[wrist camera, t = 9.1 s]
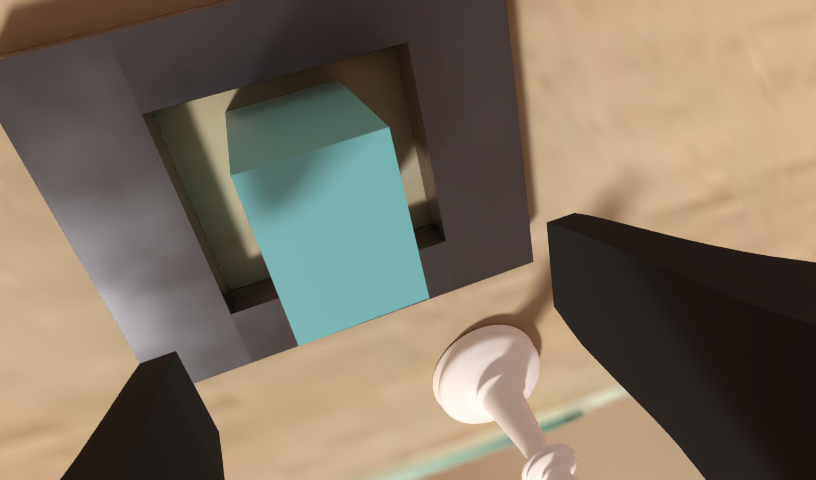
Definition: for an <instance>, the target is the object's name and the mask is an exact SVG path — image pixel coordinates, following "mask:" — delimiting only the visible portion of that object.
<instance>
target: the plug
mask: <svg viewBox="0 0 816 480" xmlns="http://www.w3.org/2000/svg"><path fill="white" fill-rule="evenodd" d="M225 115H226V127H227V138H228V150H229V162H230V174H231V178H232V181H233V183H234V186H235V188H236V191H237V193H238V196H239V198H240V201H241V203H242V206H243V208H244V211H245V213H246V216H247V218H248V221H249V223H250V226H251V228H252V231H253V233H254V236H255V238H256V241H257V243H258V246H259V248H260V251H261V253H262V256H263V258H264V261H265V263H266V266H267V268H268V271H269V273H270V276H271V278H272V281H273V283H274V286H275V288H276V291H277V293H278V296H279V298H280V301H281V303H282V306H283V308H284V311H285V313H286V316H287V318H288V321H289V323H290V326H291V328H292V331H293V333H294V336H295V338H296V341H297V343H298V346H300V345H303V344H305V343H308V342H311V341H314V340H316V339H319V338H322V337H325V336H327V335H330V334H333V333H335V332H338V331H341V330H344V329H346V328H349V327H352V326H355V325H357V324H360V323H363V322H365V321H368V320H371V319H374V318H376V317H379V316H382V315H385V314H387V313H390V312H393V311H396V310H398V309H401V308H404V307H406V306H409V305H412V304H415V303H417V302H420V301H423V300H426V299H428V298H429V294H428V290H427V286H426V282H425V277H424V273H423V269H422V265H421V260H420V256H419V252H418V248H417V243H416V239H415V235H414V231H413V226H412V222H411V218H410V214H409V209H408V205H407V201H406V197H405V192H404V188H403V184H402V179H401V175H400V171H399V167H398V162H397V158H396V154H395V150H394V145H393V141H392V137H391V133H390V128H389V126H387V125H386V124H385V123H384V122H383V121H382V120H381V119H380V118H379V117H378V116H377V115H376V114H375V113H374V112H373V111H371V110H370V109H369V108H368V107H367V106H366V105H365V104H364V103H363V102H362V101H361V100H360V99H359V98H358V97H356V96H355V95H354V94H353V93H352V92H351V91H350V90H349V89H348V88H347V87H346V86H345V85H344V84H343V83H341V82H340V81H339V80H334V81H331V82H327V83H324V84H320V85H317V86H313V87H310V88H306V89H303V90H299V91H296V92H293V93H289V94H286V95H282V96H279V97H275V98H272V99H268V100H265V101H261V102H258V103H254V104H251V105H248V106H244V107H241V108H237V109H234V110H230V111H227V112H225Z"/></svg>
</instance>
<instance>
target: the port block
mask: <svg viewBox="0 0 816 480" xmlns="http://www.w3.org/2000/svg"><path fill="white" fill-rule="evenodd" d="M391 46H395V47H396V52H397V57H398V62H399V67H400V72H401V77H402V82H403V87H404V91H405V96H406V101H407V106H408V111H409V116H410V121H411V126H412V131H413V136H414V140H415V145H416V150H417V155H418V160H419V165H420V170H421V175H422V180H423V185H424V190H425V194H426V199H427V204H428V209H429V214H430V219H431V224H430V225H427V226H424V227H421V228H418V229H415V230H413V231H414V235H415V239H416V243H417V248H418V252H419V256H420V260H421V265H422V269H423V273H424V277H425V282H426V286H427V290H428V294H429V298H428V299H431V298H434V297H436V296H439V295H442V294H445V293H448V292H450V291H453V290H456V289H459V288H462V287H464V286H467V285H470V284H473V283H475V282H478V281H481V280H484V279H487V278H489V277H492V276H495V275H498V274H501V273H503V272H506V271H509V270H512V269H515V268H517V267H520V266H523V265H526V264H529V263H531V262H533V254H532V244H531V235H530V225H529V216H528V206H527V197H526V187H525V178H524V168H523V159H522V149H521V140H520V130H519V121H518V112H517V102H516V93H515V83H514V74H513V64H512V55H511V45H510V36H509V26H508V17H507V7H506V0H224V1H220V2H216V3H212V4H208V5H204V6H200V7H195V8H191V9H187V10H183V11H179V12H175V13H171V14H167V15H163V16H159V17H154V18H150V19H146V20H142V21H138V22H134V23H130V24H126V25H122V26H118V27H113V28H109V29H105V30H101V31H97V32H93V33H89V34H85V35H81V36H77V37H72V38H68V39H64V40H60V41H56V42H52V43H48V44H44V45H40V46H36V47H31V48H27V49H23V50H19V51H15V52H11V53H7V54H3V55H0V123H1V125H2V127H3V129H4V130H5V132H6V134H7V136H8V137H9V139H10V141H11V142H12V144H13V146H14V148H15V149H16V151H17V153H18V155H19V156H20V158H21V160H22V161H23V163H24V165H25V167H26V168H27V170H28V172H29V174H30V175H31V177H32V179H33V180H34V182H35V184H36V186H37V187H38V189H39V191H40V193H41V194H42V196H43V198H44V199H45V201H46V203H47V205H48V206H49V208H50V210H51V212H52V213H53V215H54V217H55V218H56V220H57V222H58V224H59V225H60V227H61V229H62V231H63V232H64V234H65V236H66V237H67V239H68V241H69V243H70V244H71V246H72V248H73V250H74V251H75V253H76V255H77V256H78V258H79V260H80V262H81V263H82V265H83V267H84V269H85V270H86V272H87V274H88V275H89V277H90V279H91V281H92V282H93V284H94V286H95V288H96V289H97V291H98V293H99V294H100V296H101V298H102V300H103V301H104V303H105V305H106V307H107V308H108V310H109V312H110V313H111V315H112V317H113V319H114V320H115V322H116V324H117V326H118V327H119V329H120V331H121V333H122V334H123V336H124V338H125V339H126V341H127V343H128V345H129V346H130V348H131V350H132V352H133V353H134V355H135V357H136V358H137V360H138V362H139V364H140V363H142V362H145V361H148V360H151V359H154V358H157V357H160V356H163V355H165V354H168V353H171V352H174V351H176V352H177V354H178V356H179V358H180V360H181V361H182V363H183V365H184V367H185V369H186V371H187V373H188V375H189V377H190V378H191V380H192V382H193V383H196V382H199V381H202V380H205V379H207V378H210V377H213V376H216V375H218V374H221V373H224V372H227V371H230V370H232V369H235V368H238V367H241V366H244V365H246V364H249V363H252V362H255V361H258V360H260V359H263V358H266V357H269V356H272V355H274V354H277V353H280V352H283V351H286V350H288V349H291V348H294V347H297V346H298V343H297V341H296V338H295V336H294V333H293V331H292V328H291V326H290V323H289V321H288V318H287V316H286V313H285V311H284V308H283V306H282V303H281V301H280V298H279V296H278V293H277V291H276V288H275V286H274V283H273V281H272V278H268V279H265V280H262V281H259V282H256V283H253V284H250V285H247V286H244V287H241V288H238V289H235V290H232V291H229V289H228V287H227V284H226V282H225V280H224V278H223V275H222V273H221V271H220V268H219V266H218V264H217V262H216V259H215V257H214V255H213V252H212V250H211V248H210V246H209V243H208V241H207V239H206V236H205V234H204V232H203V230H202V227H201V225H200V223H199V220H198V218H197V216H196V213H195V211H194V209H193V207H192V204H191V202H190V200H189V197H188V195H187V193H186V191H185V188H184V186H183V184H182V181H181V179H180V177H179V175H178V172H177V170H176V168H175V165H174V163H173V161H172V159H171V156H170V154H169V152H168V149H167V147H166V145H165V142H164V140H163V138H162V136H161V133H160V131H159V129H158V126H157V124H156V122H155V120H154V117H153V115H152V113H151V112H152V111H156V110H159V109H163V108H167V107H170V106H174V105H178V104H181V103H185V102H189V101H192V100H196V99H200V98H203V97H207V96H211V95H214V94H218V93H222V92H225V91H229V90H233V89H237V88H240V87H244V86H248V85H251V84H255V83H259V82H262V81H266V80H270V79H273V78H277V77H281V76H284V75H288V74H292V73H295V72H299V71H303V70H306V69H310V68H314V67H317V66H321V65H325V64H328V63H332V62H336V61H339V60H343V59H347V58H351V57H354V56H358V55H362V54H365V53H369V52H373V51H376V50H380V49H384V48H387V47H391ZM428 299H426V300H428ZM423 301H425V300H423ZM420 302H422V301H420ZM420 302H417V303H420ZM417 303H415V304H417ZM412 305H414V304H412ZM409 306H411V305H409ZM406 307H408V306H406ZM406 307H404V308H406ZM401 309H403V308H401ZM398 310H400V309H398ZM396 311H397V310H396ZM393 312H394V311H393ZM390 313H392V312H390ZM387 314H389V313H387ZM385 315H386V314H385ZM382 316H383V315H382ZM379 317H381V316H379ZM376 318H378V317H376ZM374 319H375V318H374ZM371 320H372V319H371ZM368 321H369V320H368ZM365 322H367V321H365ZM363 323H364V322H363ZM360 324H361V323H360ZM357 325H358V324H357ZM352 327H353V326H352ZM349 328H350V327H349ZM346 329H347V328H346ZM338 332H339V331H338ZM335 333H336V332H335Z"/></svg>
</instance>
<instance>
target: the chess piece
mask: <svg viewBox="0 0 816 480" xmlns="http://www.w3.org/2000/svg"><path fill="white" fill-rule="evenodd" d="M539 373H540V359H539V355H538V352H537V350H536V348H535V347H534V345H533V343H532V341H531V340H530V338H529V337H528V336H527V335H526V334H525V333H524V332H523V331H521V330H519V329H517V328H515V327H512V326H508V325H490V326H485V327H482V328H479V329H476V330H474V331H471V332H469V333H467V334H466V335H464V336H463V337H461V338H460V339H458V340H457V341H456V342H455V343H453V344H452V345H451V346H450V347H449V348H448V349H447V351H446V352H445V353H444V354H443V356H442V357H441V359H440V361H439V363H438V365H437V367H436V369H435V372H434V377H433V390H434V394H435V397H436V399H437V401H438V402H439V404H440V405H441V406H442V407H443V408H444V410H445V411H446V412H447V413H448V414H449V415H450V416H451V417H452V418H454V419H456V420H458V421H461V422H464V423H471V424H479V423H486V422H491V421H494V420H495V421H496V422H497V423H498V424H499V425H500V426H501V428H502V429H503V430H504V431H505V432H506V434H507V435H508V436H509V437H510V438H511V439H512V441H513V442H514V443H515V444H516V445H517V447H518V448H519V449H520V451H521V452H522V453H523V454H524V456H525V457H526V458H527V459H528V461H527V462H526V464H525V465H524V467H523V470H522V480H579V479H578V478H576V477H575V476H573V473H574V471H575V469H576V465H577V459H576V456H575V453H574V451H573V449H572V448H571V447H570V446H568V445H566V444H552V445H550V444H549V442H548V440H547V439H546V437H545V435H544V433H543V432H542V430H541V428H540V426H539V424H538V422H537V420H536V418H535V417H534V415H533V413H532V411H531V409H530V407H529V405H528V403H527V401H526V399H527V397H528V396H529V395H530V393H531V392H532V390H533V389H534V387H535V385H536V383H537V380H538V377H539Z"/></svg>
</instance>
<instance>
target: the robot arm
mask: <svg viewBox="0 0 816 480" xmlns="http://www.w3.org/2000/svg"><path fill="white" fill-rule="evenodd" d="M547 232H548V243H549V254H550V266H551V277H552V288H553V300H554V307H555V308H556V310H557V311H558V313H559V314H560V315H561V317H562V318H563V320H564V321H565V322H566V324H567V325H568V327H569V328H570V329H571V331H572V332H573V333H574V335H575V336H576V337H577V339H578V340H579V341H580V343H581V344H582V345H583V346H584V347H585V348H586V349H587V350H588V351H589V353H590V354H591V355H592V356H593V357H594V358H595V359H596V360H597V361H598V362H599V363H600V364H601V365H602V366H603V367H604V368H605V369H606V370H607V371H608V372H609V373H610V374H611V375H612V376H613V377H614V378H615V379H616V381H617V382H618V383H619V384H620V385H621V386H622V387H623V388H624V389H625V390H626V391H627V392H628V393H629V394H630V395H631V396H632V397H633V398H634V399H635V400H636V401H637V402H638V403H639V404H640V405H641V406H642V407H643V408H644V409H645V410H646V411H647V412H648V413H649V414H650V415H651V416H652V417H653V418H654V419H655V420H656V421H657V422H658V423H659V424H660V425H661V427H662V428H663V429H664V430H665V431H666V432H667V433H668V434H669V435H670V436H671V438H672V439H673V440H674V441H675V442H676V443H677V444H678V445H679V446H680V448H681V449H682V450H683V452H684V453H685V454H686V455H687V457H688V458H689V459H690V460H691V461H692V463H693V464H694V465H695V467H696V468H697V469H698V470H699V472H700V473H701V474H702V475H703V477H704V478H705V479H706V480H816V262H808V261H801V260H794V259H787V258H779V257H772V256H766V255H760V254H754V253H748V252H743V251H738V250H733V249H728V248H723V247H718V246H713V245H708V244H704V243H699V242H695V241H690V240H686V239H682V238H678V237H674V236H670V235H666V234H662V233H658V232H654V231H650V230H646V229H642V228H638V227H634V226H630V225H626V224H622V223H619V222H615V221H611V220H606V219H602V218H598V217H594V216H589V215H584V214H577V213H573V214H570V215H567V216H564V217H562V218H559V219H556V220H553V221H550V222H547ZM60 480H225V479H224V470H223V460H222V453H221V445H220V437H219V431H218V429H217V428H216V426H215V424H214V422H213V420H212V418H211V416H210V414H209V412H208V411H207V409H206V407H205V405H204V403H203V401H202V399H201V397H200V395H199V394H198V392H197V390H196V388H195V386H194V384H193V382H192V380H191V378H190V377H189V375H188V373H187V371H186V369H185V367H184V365H183V363H182V361H181V360H180V358H179V356H178V354H177V352H176V351H174V352H171V353H168V354H165V355H163V356H160V357H157V358H154V359H151V360H148V361H145V362H142V363H140V364H139V366H138V367H137V368H136V370H135V371H134V373H133V374H132V375H131V377H130V378H129V380H128V381H127V383H126V384H125V386H124V387H123V389H122V390H121V392H120V393H119V395H118V397H117V398H116V400H115V401H114V403H113V404H112V406H111V407H110V409H109V410H108V412H107V413H106V415H105V416H104V418H103V419H102V421H101V422H100V424H99V425H98V427H97V428H96V430H95V431H94V433H93V434H92V435H91V437H90V438H89V440H88V441H87V443H86V444H85V446H84V447H83V449H82V450H81V452H80V453H79V455H78V456H77V458H76V459H75V460H74V462H73V463H72V464H71V466H70V467H69V468H68V470H67V471H66V473H65V474H64V475H63V477H62V478H61V479H60Z"/></svg>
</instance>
